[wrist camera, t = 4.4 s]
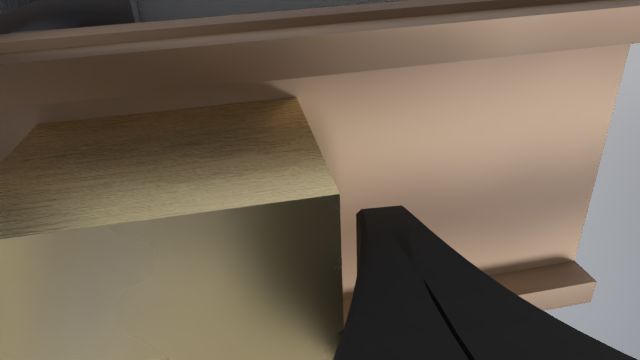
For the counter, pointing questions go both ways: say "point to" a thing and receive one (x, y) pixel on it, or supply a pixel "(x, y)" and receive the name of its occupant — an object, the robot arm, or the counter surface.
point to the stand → (64, 14)
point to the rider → (171, 238)
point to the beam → (383, 110)
